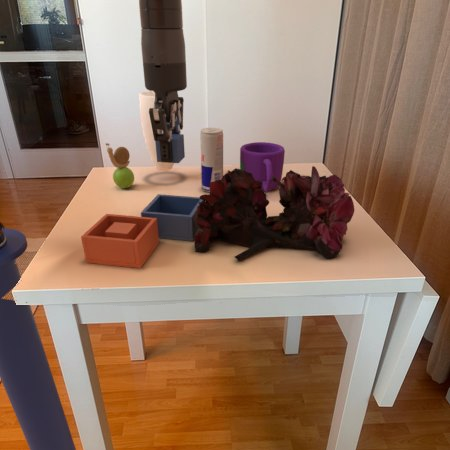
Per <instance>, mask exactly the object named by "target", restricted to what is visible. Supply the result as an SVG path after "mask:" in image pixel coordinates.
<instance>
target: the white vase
mask: <svg viewBox="0 0 450 450" xmlns="http://www.w3.org/2000/svg"><path fill="white" fill-rule="evenodd" d="M138 99H139V100H138V104H139V116H140V123H141V124H140V125H141V128H142V129H141V130H142V136H143V140H144V142H145V145H146V146H145V147H146V150H147V152H148V155H149V157H150V160H151V162H152V164H153V166H154V168H155V169H156V170H158V171H170V170H172V169H173V168H174V165H175V163H165V162H157V154H156V143H155V140H154V136H153V131H152V126H151V120H150V115H149V109H150V108H154V102H155V92H154V91H150V90H147V91H142V92H140V93H139V94H138ZM176 118H177V117H176ZM162 133H163V130H162Z"/></svg>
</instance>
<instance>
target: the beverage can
mask: <svg viewBox="0 0 450 450" xmlns="http://www.w3.org/2000/svg"><path fill="white" fill-rule="evenodd" d="M223 131H224V130H223V129H222V128H220V127H204V128H201V129H200V133H199V135H200V136H199V137H200V171H201V172H200V173H201V175H200V176H201V190H203V191H204V192H207V193H210V187H209V183H210V182H214V181H216V180H221V179H222V177H223V176H224V132H223Z"/></svg>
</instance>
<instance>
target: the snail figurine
mask: <svg viewBox="0 0 450 450" xmlns="http://www.w3.org/2000/svg"><path fill="white" fill-rule="evenodd" d="M105 145H106V146H107V147H106V152H107V154H108V158H109V159H110V162H111V163H112V166H113V167H115V168H116V169H115V170H114V171H113V174H112V180H113V182H114V184H115V185H116V186H117V187H119V188H121V189H128V188H130V187H132V185H133V184H134V182H135V174H134V172H133V170H132V169H131V168H129V167H128V166H129V165H130V157H131V156H130V151H129V149H128V148H127V147H125V146H119V147H117V148H116V149H115V150H113V148H112V147H110V145H111V144H110V143H108V142H105Z"/></svg>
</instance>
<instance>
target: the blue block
mask: <svg viewBox="0 0 450 450" xmlns="http://www.w3.org/2000/svg"><path fill="white" fill-rule="evenodd" d="M162 134H163V133H162ZM155 143H156V154H157V162H162V161H161V154H160V142H158V141H155ZM172 153H173V161H172V162H171V163H174V164H180V163H181V161H183V160H184V158H185V155H186V154H185V134H183V133H180V134H172Z"/></svg>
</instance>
